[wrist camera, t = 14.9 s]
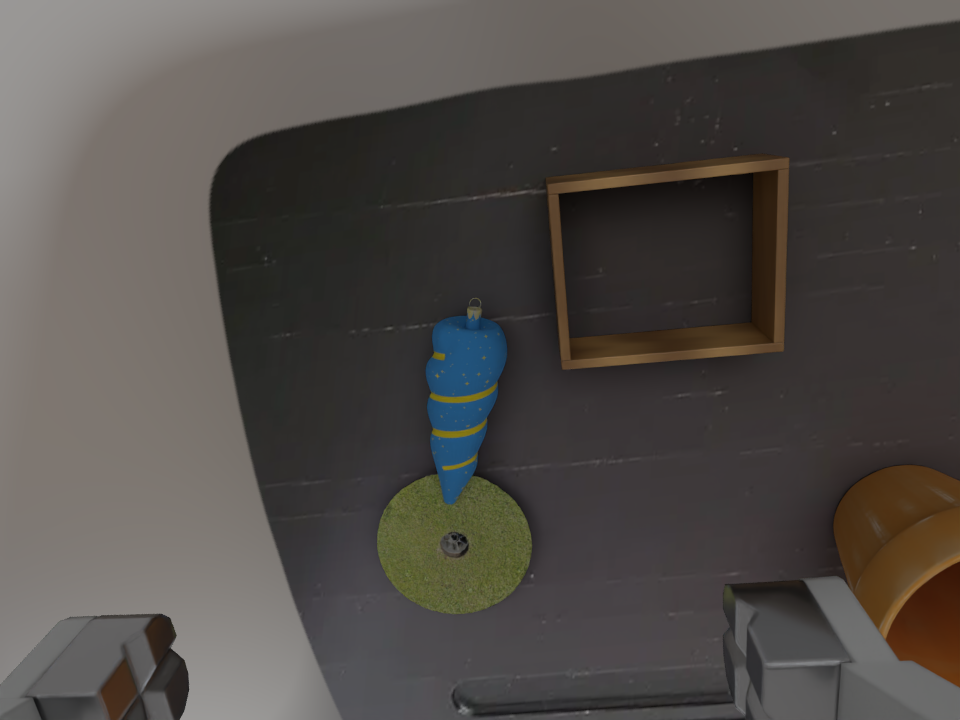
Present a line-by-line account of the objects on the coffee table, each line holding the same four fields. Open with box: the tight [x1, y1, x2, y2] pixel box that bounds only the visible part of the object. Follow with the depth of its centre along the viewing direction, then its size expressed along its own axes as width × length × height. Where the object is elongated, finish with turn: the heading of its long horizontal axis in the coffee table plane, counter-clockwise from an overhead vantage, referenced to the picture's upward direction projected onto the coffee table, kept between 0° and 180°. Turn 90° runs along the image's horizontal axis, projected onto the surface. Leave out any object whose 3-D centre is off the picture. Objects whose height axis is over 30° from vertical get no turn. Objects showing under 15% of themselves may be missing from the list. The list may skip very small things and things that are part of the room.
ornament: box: [426, 298, 507, 504], centre depth 46 cm, size 5×5×15 cm
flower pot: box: [833, 465, 960, 688], centre depth 44 cm, size 14×14×13 cm
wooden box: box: [545, 154, 789, 370], centre depth 43 cm, size 13×11×4 cm
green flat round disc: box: [377, 474, 532, 614], centre depth 51 cm, size 11×11×2 cm
